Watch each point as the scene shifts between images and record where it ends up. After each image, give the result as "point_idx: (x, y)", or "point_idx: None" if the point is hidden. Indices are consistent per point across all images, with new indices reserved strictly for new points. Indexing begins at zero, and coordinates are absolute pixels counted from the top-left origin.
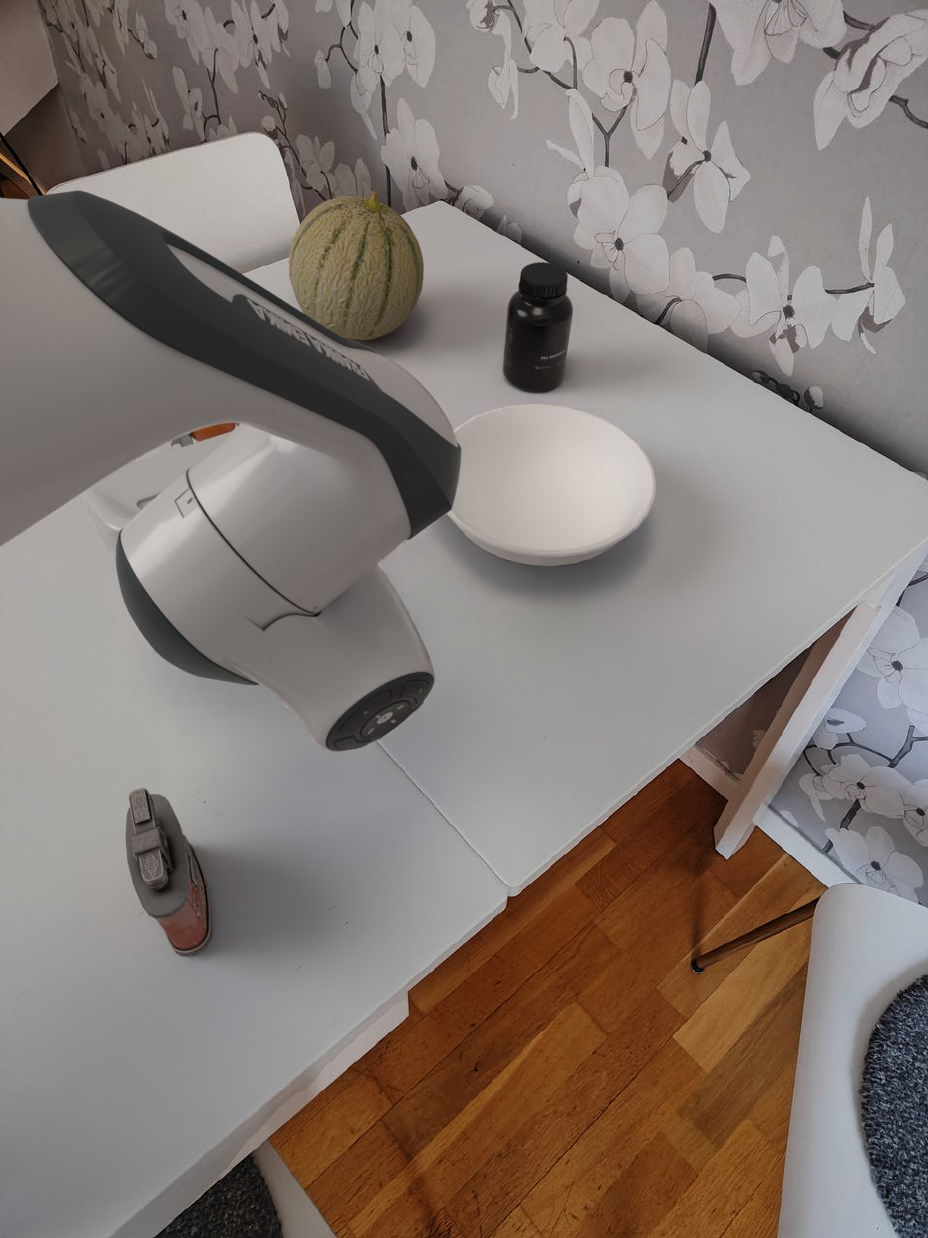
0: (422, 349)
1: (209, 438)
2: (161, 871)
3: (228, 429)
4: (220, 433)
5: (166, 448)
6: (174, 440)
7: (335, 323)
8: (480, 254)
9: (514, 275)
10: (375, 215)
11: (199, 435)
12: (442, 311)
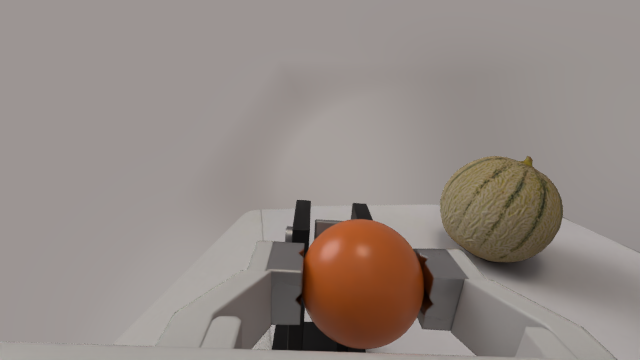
0: (545, 284)
1: (340, 353)
2: None
3: (401, 322)
4: (376, 326)
5: (189, 321)
6: (241, 301)
7: (475, 239)
8: (571, 233)
9: (612, 253)
10: (531, 169)
11: (319, 309)
12: (554, 260)
